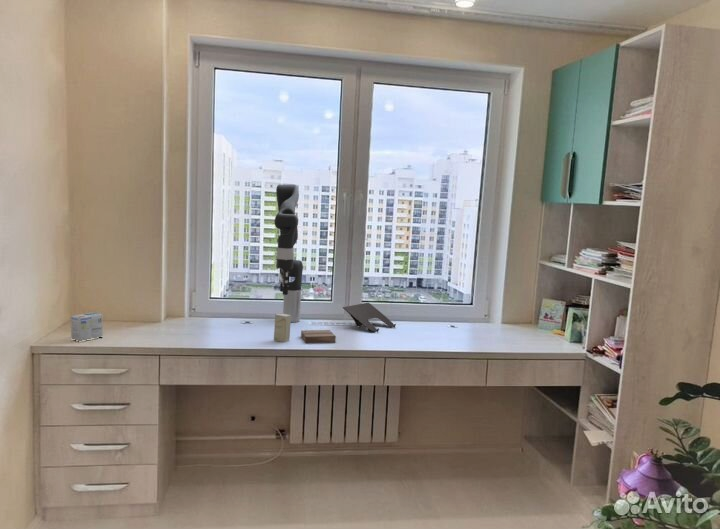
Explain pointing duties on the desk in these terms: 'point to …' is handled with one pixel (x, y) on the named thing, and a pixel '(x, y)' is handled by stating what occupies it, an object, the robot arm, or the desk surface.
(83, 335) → the light bulb box
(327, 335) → the walnut stand
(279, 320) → the skincare box
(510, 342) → the desk surface
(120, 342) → the desk surface
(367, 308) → the portable electronic device stand
